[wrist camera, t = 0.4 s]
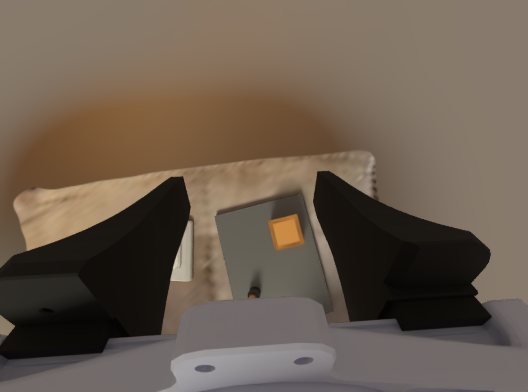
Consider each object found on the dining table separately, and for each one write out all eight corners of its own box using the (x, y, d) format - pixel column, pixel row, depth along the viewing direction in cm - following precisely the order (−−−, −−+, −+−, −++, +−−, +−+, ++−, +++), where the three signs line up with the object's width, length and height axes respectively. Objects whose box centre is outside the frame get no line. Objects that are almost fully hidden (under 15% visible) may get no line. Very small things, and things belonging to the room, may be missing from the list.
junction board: (332, 308, 38) (333, 311, 37) (241, 327, 39) (240, 330, 38) (301, 193, 40) (301, 193, 39) (216, 216, 41) (214, 216, 41)
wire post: (262, 297, 38) (258, 305, 35) (250, 299, 39) (246, 308, 35) (259, 285, 39) (255, 292, 35) (248, 288, 39) (243, 295, 35)
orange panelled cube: (303, 240, 38) (304, 243, 34) (277, 246, 39) (275, 250, 34) (296, 213, 39) (296, 213, 34) (270, 220, 39) (267, 221, 35)
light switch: (118, 221, 41) (183, 221, 39) (135, 220, 45) (195, 220, 43) (116, 282, 40) (182, 286, 38) (134, 276, 44) (194, 279, 42)
